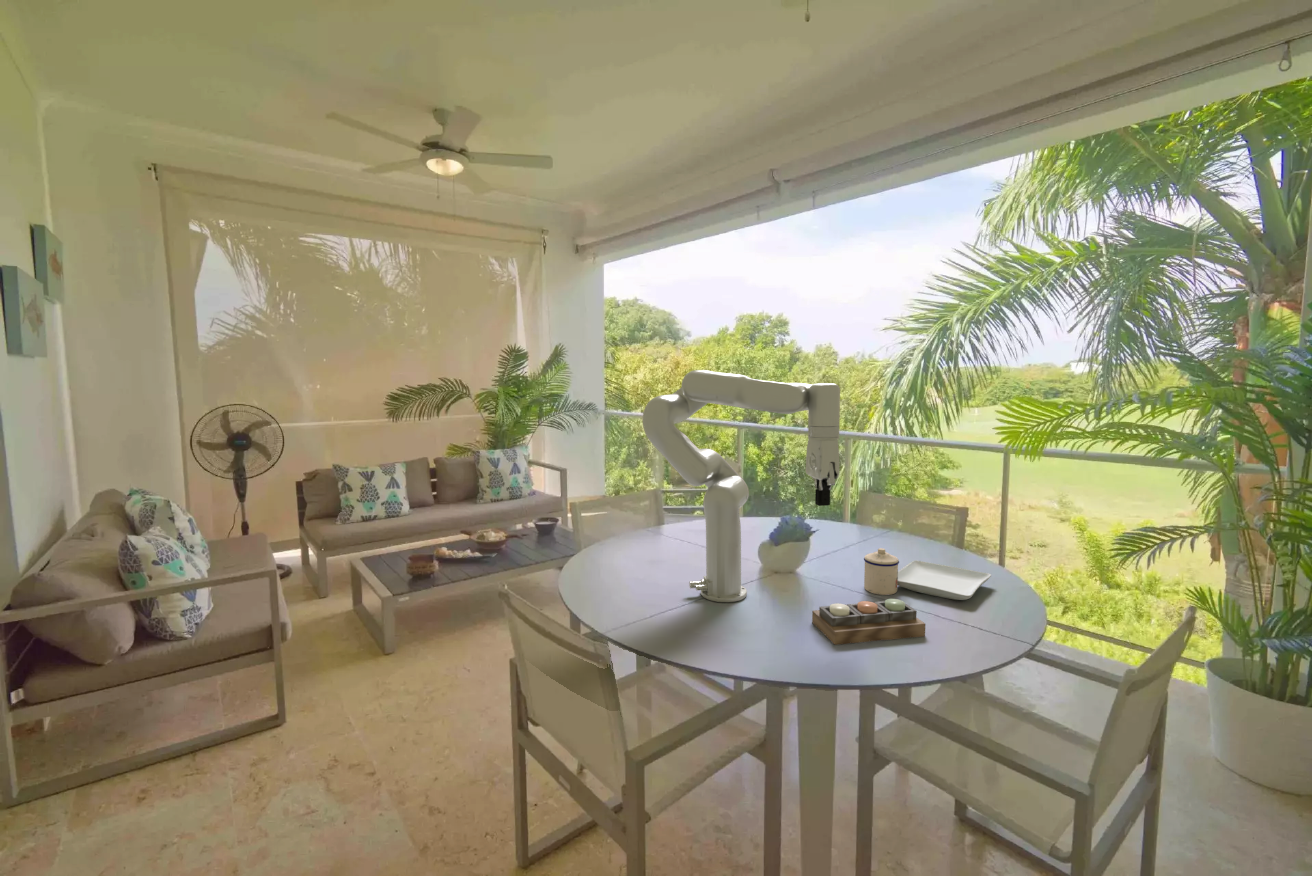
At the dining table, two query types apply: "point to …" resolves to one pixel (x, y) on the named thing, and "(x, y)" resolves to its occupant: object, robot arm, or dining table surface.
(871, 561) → the teacup with lid
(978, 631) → the dining table surface
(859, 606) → the terracotta button
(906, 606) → the button console
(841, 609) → the cream button
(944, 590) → the salad plate
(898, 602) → the sage button
